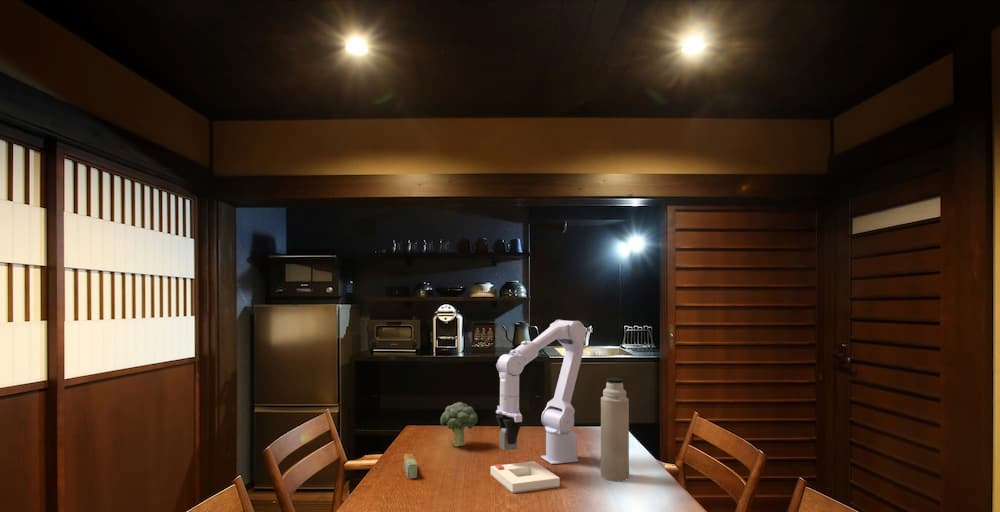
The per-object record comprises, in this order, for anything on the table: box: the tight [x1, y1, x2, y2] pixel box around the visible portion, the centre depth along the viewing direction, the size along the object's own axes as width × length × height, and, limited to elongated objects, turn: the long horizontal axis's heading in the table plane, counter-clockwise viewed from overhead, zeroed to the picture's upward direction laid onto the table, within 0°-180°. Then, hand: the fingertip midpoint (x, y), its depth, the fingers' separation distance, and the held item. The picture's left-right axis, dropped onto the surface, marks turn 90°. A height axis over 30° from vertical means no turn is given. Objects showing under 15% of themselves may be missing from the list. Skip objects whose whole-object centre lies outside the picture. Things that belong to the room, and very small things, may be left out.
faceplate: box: [489, 460, 561, 494], centre depth 159 cm, size 14×16×3 cm
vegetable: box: [439, 401, 479, 447], centre depth 194 cm, size 12×13×15 cm
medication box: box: [403, 453, 418, 480], centre depth 165 cm, size 12×3×4 cm, turn 16°
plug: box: [498, 428, 518, 452], centre depth 168 cm, size 4×4×6 cm
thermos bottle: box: [600, 377, 630, 482], centre depth 164 cm, size 8×8×28 cm
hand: (508, 441), depth 168 cm, fingers closed on plug, 4 cm apart
